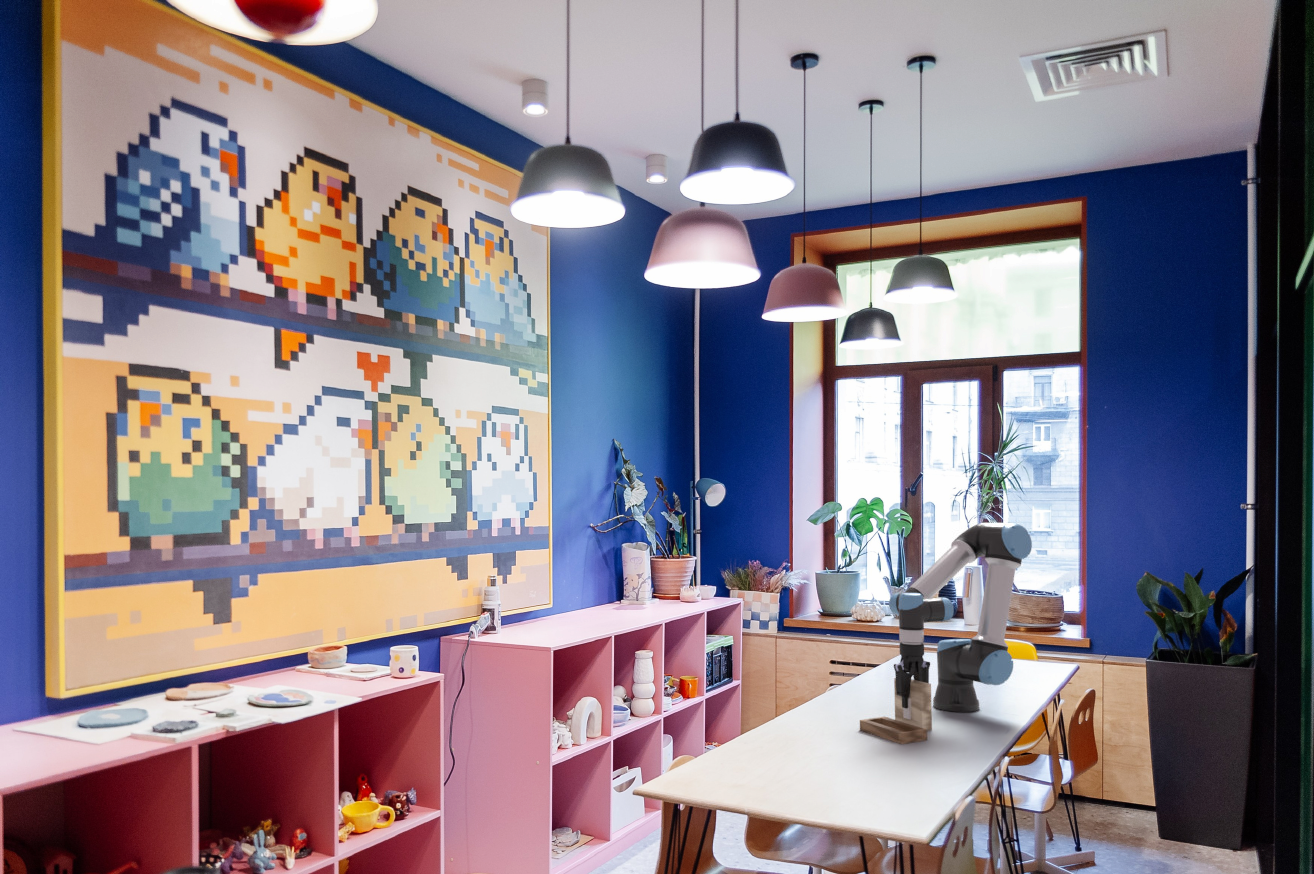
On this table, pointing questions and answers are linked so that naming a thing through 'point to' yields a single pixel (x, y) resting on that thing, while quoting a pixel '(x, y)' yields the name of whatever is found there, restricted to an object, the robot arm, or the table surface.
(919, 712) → the panel
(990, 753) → the table surface
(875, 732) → the track
